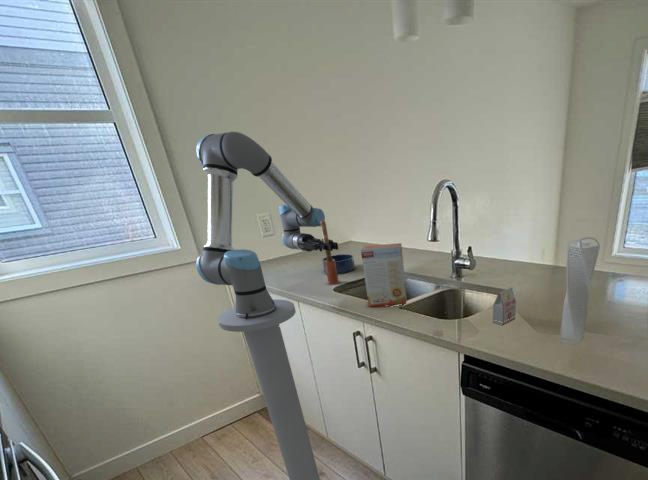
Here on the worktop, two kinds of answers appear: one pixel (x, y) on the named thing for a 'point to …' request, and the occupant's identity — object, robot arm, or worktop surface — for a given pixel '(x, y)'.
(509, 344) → the worktop surface
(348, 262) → the bowl
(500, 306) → the milk carton
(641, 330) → the worktop surface
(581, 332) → the skyscraper
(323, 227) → the stirring stick
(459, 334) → the worktop surface
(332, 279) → the orange tall cylinder
